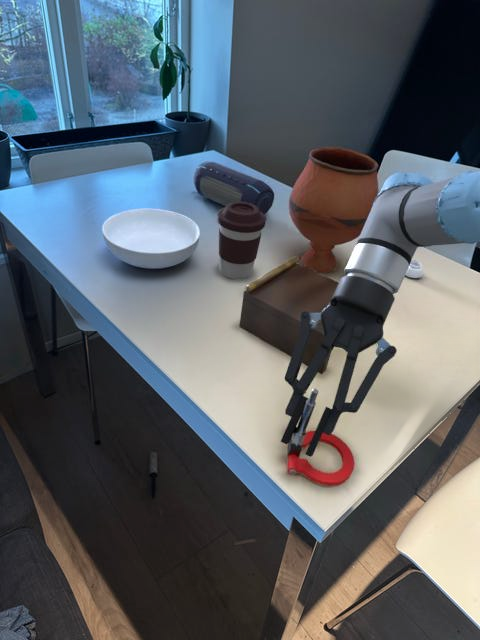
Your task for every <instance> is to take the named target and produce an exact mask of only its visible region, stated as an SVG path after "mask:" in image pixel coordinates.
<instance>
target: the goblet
mask: <svg viewBox="0 0 480 640" xmlns="http://www.w3.org/2000/svg"><path fill="white" fill-rule="evenodd" d="M378 169H379V163H378V162H377V161H376V160H375V159H373V158H372V157H371V156H369V155H367V154H364V153H362V152H359V151H356V150H353V149H349V148H345V147H339V146H327V147H326V146H325V147H319V148H315V149H312V150H311V151H310V152H309V154H308V161H307V162H306V165H305V166H304V169H303V170H302V172H301V173H300V174H299V177H298V178H297V179H296V181H295V183H294V185H293V188H292V189H291V191H290V195H289V199H288V210H289V216H290V219H291V221H292V223H293V224H294V227H295V228H296V229H297V230H298V232H299V233H300V234H301V235H302V236H303V237H304V238H305V239H306V240H307V241H309V246H310V247H311V248H310V249H308V250H307V251H305V252H304V253H303V255H302V256H301V258H300V262H301V264H303V266H304V267H306V268H308V269H311V270H313V271H315V272H317V273H331V272H333V271H335V270H336V269H337V266H338V259H337V257H336V256H335V254H334V253H333V251H332V250H334V249H335V248H336V246H340V245H344V244H347V243H350V242H352V241H354V240H355V239H357V238H359V237H360V234H361V232H362V230H363V227H364V225H365V223H366V220H367V218H368V216H369V213H370V211H371V209H372V206H373V203H374V200H375V198H376V197H377V196H378V194H379V193H380V191H379V181H378V180H379V179H378Z"/></svg>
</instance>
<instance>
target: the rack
mask: <svg viewBox="0 0 480 640" xmlns="http://www.w3.org/2000/svg"><path fill="white" fill-rule="evenodd" d="M299 261H300V260H299V257H298V256H293V257H291V258H290V259H288V260H287V261H285V262H284V263H283V262H282V264H280V265H279V266H277V267H275V268H274V269H272V270H270V271H269V272H267V273H265V274H264V275H262V276H260V277H258V278H257V279H255V280H254V281H251V282H250V283H249V284H247V285H246V287H245V290H244V291H243V296H242V303H241V310H240V318H239V328H240V329H242V330H244V331H246V332H247V333H249V334H251V335H253V336H254V337H256V338H258V339H259V340H260V341H263V342H264V343H266V344H268V345H270V346H271V347H273V348H275V349H277V350H278V351H280V352H282V353H284V354H285V355H287V356H289V357H290V358H291V357H292V354H293V351H294V348H295V345H296V342H297V339H298V336H299V333H300V330H301V313H302V312H303V311H307V312H309V313H320V312H322V310H323V309H324V308H326V307H327V306H328V305H329V303H330V301H331V299H332V297H333V295H334V292H335V290H336V288H337V286H338V284H339V281H336V280H334V279H333V278H330V277H328V276H326V275H323V274H321V273H320V272H317V271H313V270H311V269H309V268H307V267H305V266H304V265H302V264H300V263H298V262H299ZM324 339H325V333H324V329H323V324H322V321H320V322H318V324H317V327H316V328H315V329H312V333H311V337H310V340H309V343H308V346H307V349H306V352H305V355H304V358H303V361H302V365H305V366H306V367H308V365H309V364H310V362H311V361H312V359H313V357H314V356H315V354H316V353H317V351H318V349H319V348H320V346H321V344H322V342H323V340H324ZM331 355H332V352H331V353H330V354H329V356H328V357H327V359H326V360H325V362H324V364H323V365H322V367H321V368H320V370H319V372H318V373H317V374H320V375H323V374H324V373H325V372H326V371H327V369H328V365H329V361H330V358H331Z"/></svg>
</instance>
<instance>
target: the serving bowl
mask: <svg viewBox="0 0 480 640" xmlns="http://www.w3.org/2000/svg"><path fill="white" fill-rule="evenodd" d="M101 233H102V237H103V240H104V243H105V245H106V247H107V249H108V250H109V251H110V253H112V254H113V256H114V257H116V258H117V259H119V260H120V261H122V262H123V263H126V264H128V265H131V266H133V267H138V268H142V269H165V268H170V267H173V266H176V265H178V264H181V263H183V262H184V261H186V260H187V259H189V258H190V257H191V256H192V255H193V254H194V252H195V251H196V249H197V247H198V244H199V243H200V238H201V229H200V227H199V226H198V224H197V223H196V222H195V221H194V220H192V219H191V218H189V217H188V216H186V215H183V214H181V213H179V212H176V211H171V210H167V209H162V208H161V209H160V208H135V209H127V210H124V211H121V212H118V213H116V214H113V215H111V216H110V217H108V218H107V219H106V220H105V221H104V222H103V224H102V226H101Z"/></svg>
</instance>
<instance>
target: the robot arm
mask: <svg viewBox="0 0 480 640" xmlns="http://www.w3.org/2000/svg"><path fill="white" fill-rule="evenodd" d="M477 243H480V170H476V171H473V170H469V171H466V172H463V173H461V174H460V175H457V176H454V177H450V178H446V179H443V180H439V181H436V182H434V181H433V180H432V179H431V178H429V177H427V176H425V175H423V174H421V173H416V172H412V171H411V172H409V173H406V172H404V171H400V172H396V173H393V174H391V175H390V176H388V178H386V179H385V181H384V183H383V185H382V187H381V189H380V190H379V194H378V196H377V197H376V198H375V200H374V203H373V206H372V209H371V211H370V213H369V216H368V218H367V220H366V223H365V225H364V227H363V230H362V232H361V234H360V236H359V237H358V239H357V241H356V244H355V246H354V248H353V250H352V252H351V254H350V257H349V259H348V261H347V264H346V265H345V268H344V271H343V273H344V276H342V277H340V280H339V281H338V282H339V284H338V286H337V288H336V290H335V292H334V295H333V297H332V299H331V301H330V303H329V305H328V306H327V307H326V308H324V309H323V310H322V312H320V313H309V312H307V311H303V312H302V313H301V330H300V333H299V336H298V339H297V342H296V345H295V348H294V351H293V354H292V357H291V356H290V360H289V363H288V366H287V369H286V372H285V375H284V380H285V382H286V383H287V384H288V385H289V386H290V387H291V388H292V394H291V396H290V398H289V401H288V403H287V406H286V408H285V410H284V412H285V413H284V415H287V416H288V417H290V419H289V421H288V422H287V426H286V428H285V430H284V432H283V434H282V437H281V439H280V440H279V441H280V443H282V444H284V445H288V443H289V442H290V440H291V437H292V435H293V433H294V430H295V428H296V427H297V426H298V423H299V421H300V418H301V415H302V412H303V409H304V407H305V404H306V401H307V400H308V399H309V398H310V397H307V396H305V395H306V393H307V390H308V389H309V387H310V386H311V384H312V383H313V382H314V379H315V378H316V376H317V375H318V374H319V373H318V372H319V370H320V368H321V367H322V365H323V364H324V362H325V360H326V359H327V357H328V356H329V354H330V353H331V354H332V352H333V350H334V349H335V348H338V349H342V350H344V351H345V352H346V358H345V361H344V365H343V368H342V372H341V375H340V380H339V382H338V386H337V390H336V393H335V397H334V401H333V404H332V407H331V408H330V407H329V406H325V408H324V410H323V412H322V415H321V417H320V419H319V421H318V423H317V426H316V428H315V430H314V431H315V433H314V435H313V437H312V440H311V442H310V444H309V445H307V446H308V447H307V449H306V451H305V453H304V455H306V456H307V457H309V458H312V457H313V456H314V454H315V452H316V449H317V447H318V445H319V440H320V438H321V436H322V433H325V434H327V435H330V434H333V433H334V430H335V429H336V426H337V424H338V421H339V419H340V416H341V415H342V414H343V413H353V414H355V413H357V412H358V411H359V410H360V409H361V406H362V404H363V403H364V401H365V399H366V397H367V396H368V394H369V392H370V391H371V388H372V387H373V385H374V383H375V382H376V379H377V378H378V377H379V374H380V372H381V371H382V369H383V367H384V366H385V365H386V363H388V362H390V360H392V359H393V358H394V357H395V356H396V354H397V347H396V346H395V345H391V344H390V342H388V341H387V340H386V339H385V337H384V325H385V323H386V320H387V318H388V315H389V313H390V311H391V309H392V306H393V305H394V302H395V296H394V295H395V294H397V293H398V292H399V290H400V288H401V286H402V283H403V281H404V279H405V277H406V275H405V274H406V272H407V270H408V267H409V265H410V263H411V261H412V260H413V257H414V255H415V253H416V252H417V249H418V248H420V247H421V248H426V247H432V246H447V245H458V244H467V245H472V244H473V245H474V244H477ZM320 321H322V324H323V329H324V333H325V339H324V340H323V342H322V344H321V346H320V348H319V349H318V351H317V353H316V354H315V356H314V357H313V359H312V361H311V362H310V364H309V365H308V366H306V368H305V370H304V372H303V373H302V374H301V376H300V378H299V379H298V377H299V373H300V370H301V368H302V365H303V363H302V361H303V358H304V355H305V352H306V349H307V346H308V343H309V340H310V337H311V333H312V329H315V328H316V327H317V324H318V322H320ZM376 344H377V348H376V349H375V355H376V358H375V359H374V361H373V362H372V364H371V366H370V368H369V369H368V371H367V373H366V375H365V376H364V378H363V380H362V381H361V383H360V385H359V386H358V388H357V390H356V392H355V394H354V396H353V398H352V399H351V401H350V402H348V401H346V400H347V397H348V393H349V390H350V386H351V381H352V378H353V374H354V371H355V368H356V363H357V360H358V358H359V354H360V353H362V352H364V351H366V350H367V349H370V348H371V347H373V346H374V345H376Z"/></svg>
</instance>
